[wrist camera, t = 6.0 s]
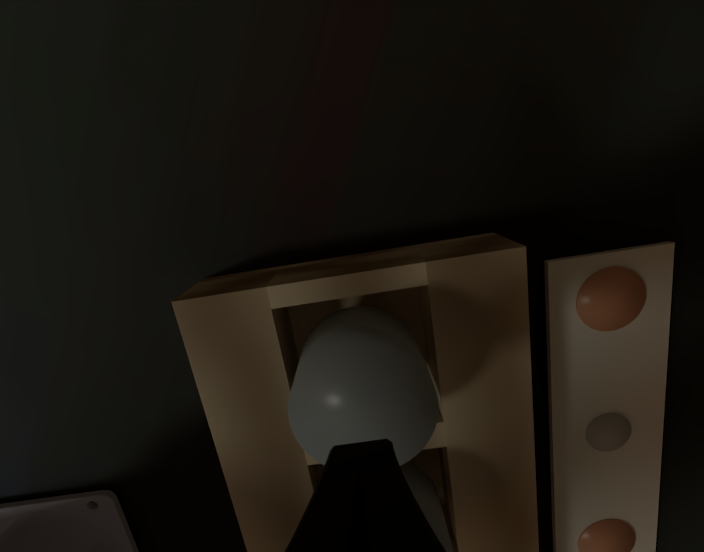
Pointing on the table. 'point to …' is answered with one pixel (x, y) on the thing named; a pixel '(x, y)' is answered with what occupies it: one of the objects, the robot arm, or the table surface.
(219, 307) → the wooden tray
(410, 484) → the button
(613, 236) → the table surface
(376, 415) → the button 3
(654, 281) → the pattern card
